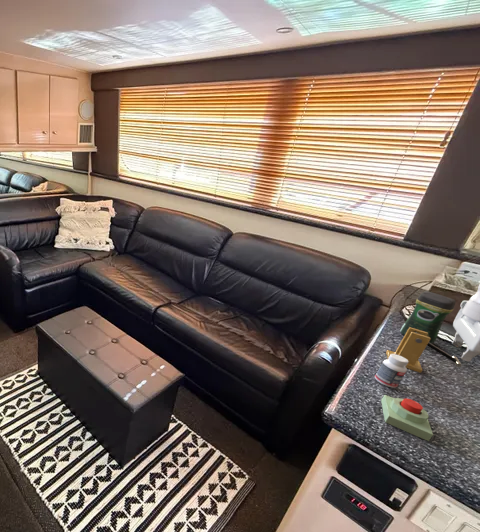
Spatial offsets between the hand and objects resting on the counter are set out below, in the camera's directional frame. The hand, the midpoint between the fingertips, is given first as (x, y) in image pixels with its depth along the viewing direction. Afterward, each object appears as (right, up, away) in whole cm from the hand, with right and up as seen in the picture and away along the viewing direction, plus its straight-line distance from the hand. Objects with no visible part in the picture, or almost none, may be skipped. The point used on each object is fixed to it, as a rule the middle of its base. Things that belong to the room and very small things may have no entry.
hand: (459, 352), depth 98 cm
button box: (-34, -13, -16) cm, 40 cm away
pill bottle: (-25, -8, -2) cm, 27 cm away
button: (-34, -10, -18) cm, 39 cm away
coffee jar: (+14, -1, +26) cm, 30 cm away
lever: (-5, 0, +4) cm, 6 cm away
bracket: (-9, -6, +9) cm, 14 cm away
